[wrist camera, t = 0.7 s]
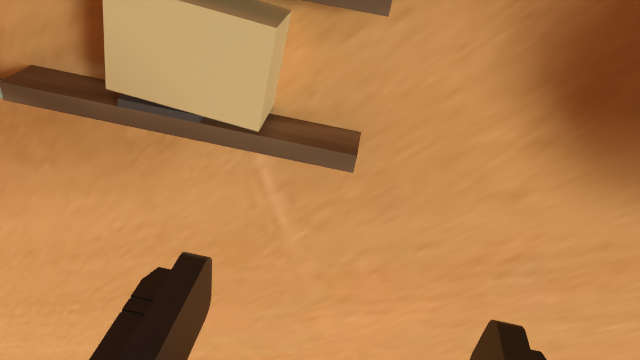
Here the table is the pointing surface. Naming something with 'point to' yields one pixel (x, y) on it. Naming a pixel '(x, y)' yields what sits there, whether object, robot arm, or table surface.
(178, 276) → the robot arm
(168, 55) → the block
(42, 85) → the chute
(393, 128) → the table surface
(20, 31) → the table surface
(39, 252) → the table surface
